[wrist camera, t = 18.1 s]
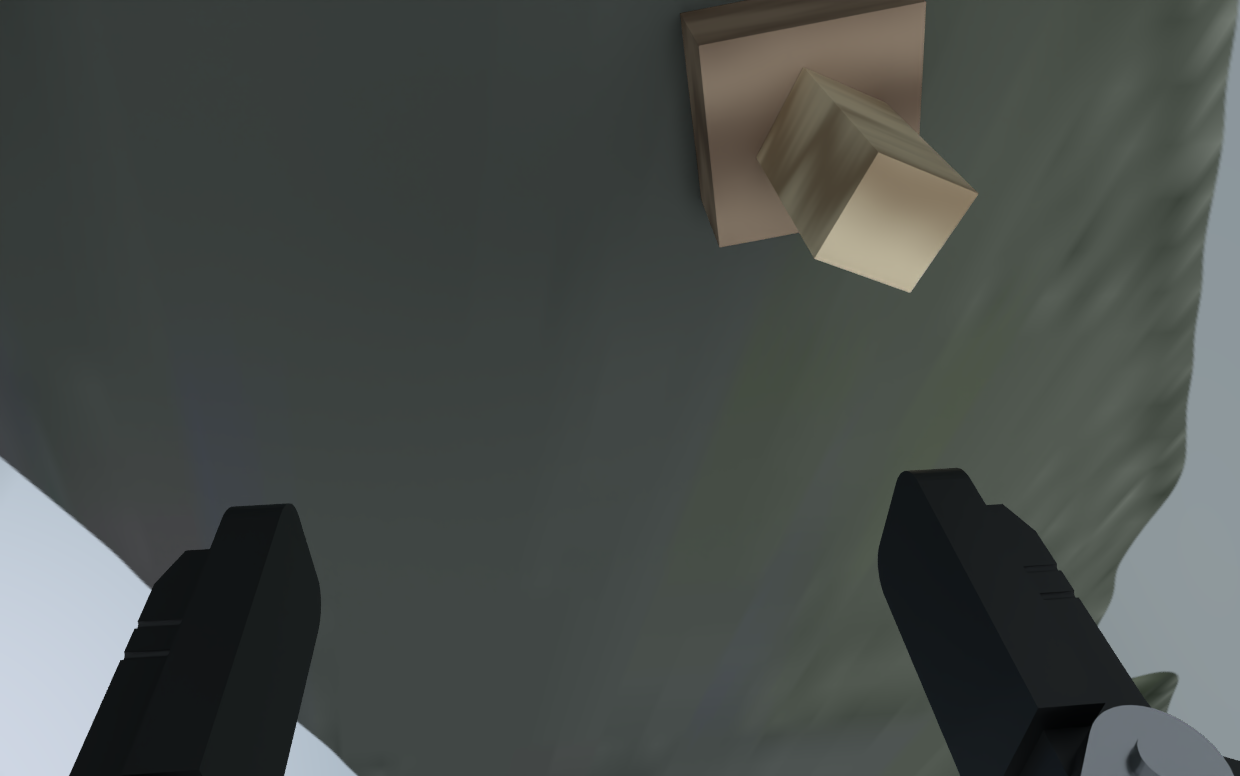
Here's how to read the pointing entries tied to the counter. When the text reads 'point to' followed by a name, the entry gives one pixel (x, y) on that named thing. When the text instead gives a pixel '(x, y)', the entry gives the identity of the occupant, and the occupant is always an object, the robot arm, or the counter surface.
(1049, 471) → the counter surface
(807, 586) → the counter surface
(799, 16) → the walnut base
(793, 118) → the oak block
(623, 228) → the counter surface
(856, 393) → the counter surface
